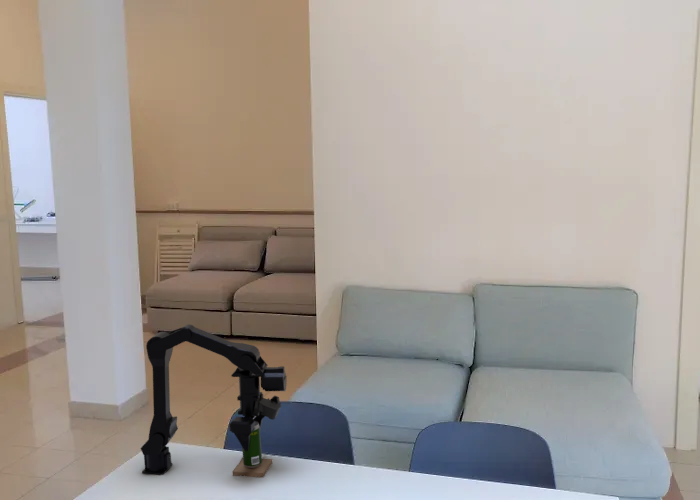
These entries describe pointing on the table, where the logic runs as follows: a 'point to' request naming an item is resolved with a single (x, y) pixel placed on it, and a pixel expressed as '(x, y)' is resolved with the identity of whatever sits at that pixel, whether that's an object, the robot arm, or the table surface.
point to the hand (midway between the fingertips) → (251, 444)
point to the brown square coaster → (252, 469)
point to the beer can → (253, 449)
